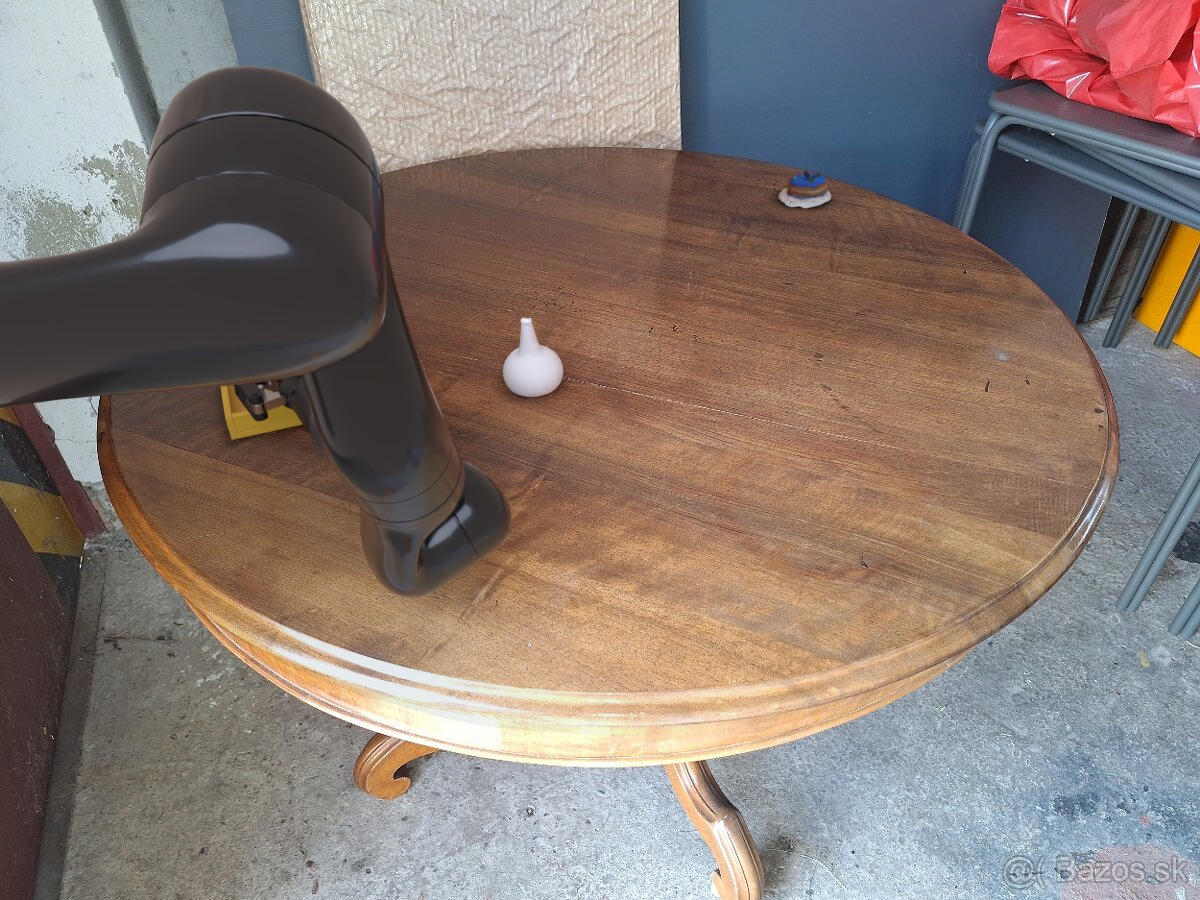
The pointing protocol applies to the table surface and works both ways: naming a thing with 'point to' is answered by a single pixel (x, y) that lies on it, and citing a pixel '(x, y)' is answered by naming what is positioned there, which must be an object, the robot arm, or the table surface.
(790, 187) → the dessert
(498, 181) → the table surface
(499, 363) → the table surface
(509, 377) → the garlic bulb
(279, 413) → the yellow tray
